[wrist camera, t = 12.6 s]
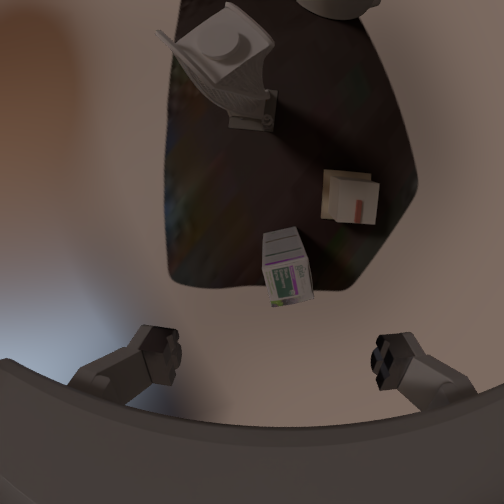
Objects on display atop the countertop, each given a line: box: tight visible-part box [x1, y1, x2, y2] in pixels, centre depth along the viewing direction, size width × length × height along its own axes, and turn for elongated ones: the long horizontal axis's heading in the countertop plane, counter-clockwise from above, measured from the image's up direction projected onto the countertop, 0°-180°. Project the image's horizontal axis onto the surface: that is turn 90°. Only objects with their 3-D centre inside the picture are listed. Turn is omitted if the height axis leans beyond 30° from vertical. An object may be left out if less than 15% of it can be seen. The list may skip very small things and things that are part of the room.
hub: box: [321, 169, 371, 219], centre depth 40 cm, size 8×8×5 cm
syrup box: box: [262, 227, 314, 307], centre depth 39 cm, size 6×6×14 cm
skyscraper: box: [155, 2, 278, 132], centre depth 25 cm, size 8×8×28 cm
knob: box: [328, 176, 379, 224], centre depth 38 cm, size 6×6×7 cm
